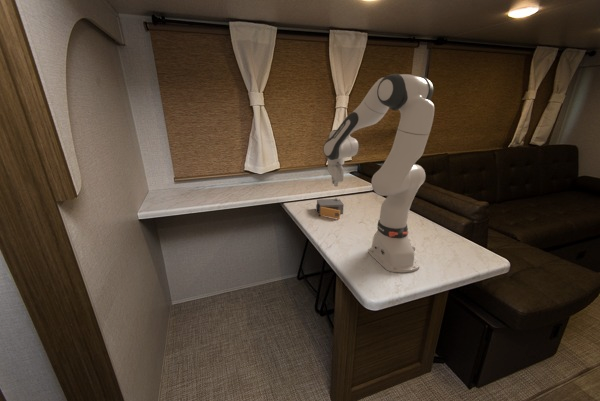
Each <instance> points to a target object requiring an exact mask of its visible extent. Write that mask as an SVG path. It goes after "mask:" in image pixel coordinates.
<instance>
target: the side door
mask: <svg viewBox="0 0 600 401" xmlns="http://www.w3.org/2000/svg"><path fill="white" fill-rule="evenodd" d="M318 216H320V217H321V216H324V217H328V218H332V219H337V220H340V218H341V214H340V210H335V209H330V208H325V207H319V212H318Z"/></svg>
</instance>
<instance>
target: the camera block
mask: <svg viewBox="0 0 600 401" xmlns="http://www.w3.org/2000/svg"><path fill="white" fill-rule="evenodd" d="M344 205H345V204H344V203H343V201H341V199H340V198H339V197H335V198H325V199H323V198H322V199H320V198H319V199H316V204H315V208H316V209H315V210H316V212H318V213H319V207H325V208H330V209H335V210H340V215H343V214H344Z"/></svg>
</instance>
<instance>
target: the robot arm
mask: <svg viewBox="0 0 600 401" xmlns="http://www.w3.org/2000/svg"><path fill="white" fill-rule="evenodd" d="M433 95H434V86H433V83H432V82H431V80H429V79H428V78H427V77H424V76H417V75H413V74H408V73H407V74H405V73H403V74H400V73H393V74H389V75H387V76H384V77H381V78H379V79H378V80H377V81H375V83H374V84H373V85H372V86H371V87H370V89H369V91H367V93H366V95H365V97H364V98H363V99H362V101H360V102H361V103H360V104H359V105H358V106H357V107H356V108H355V109H354V110H353V111H352V112H350V113H349V114H348V115H347V116H346V117H345V118H344V120H343V121H342V122H341V123H340V125H339V126H338V127H337V129H333V130H331V131H330V132H329V135H328V136H329V137H328V139H327V140H325V143H324V144H323V147H322V149H323V154H324V156H325V157H326V161H327V170H328V171H327V173H328V174H329V175H330V176H331V184H333V186H334V187H335V188H336V187H338V186H339V183H342V182H344V178H345V177H344V170H345V169H344V167H343V165H345V159H346V158H352V157H355V156H357V154H358V153H359V150H360V144H359V141H358V140H357V139H356V138H354V137H352V136H351V134H353V133H354V132H356V131H358V130H360V129H363V128H366V127H370V126H373V125H376V124H378V122H380V121H381V120H382V119H383V118H384V116H385V115H386V113H387V112H388V111H389V109H390V110H392V111H393V112H396V111H399V112H400V119H399V122H398V123H399V124H398V127H397V130H396V132H395V133H396V134H395V137H394V140H393V144H392V147H391V150H390V152H389V154H388V155H387V157H386V159H385V160H384V162H383V164H382V165H381V166H380V168H379V169H378V170H377V171H376V172H375V173H374V174H373V175H372V177H371V188H372V190H373V191H374V192H375V194H377V195H378V196H382V197H383V196H385V197H386V198H385V199H384V200H383V201H382V203H381V205H380V213H379V219H378V220H377V221H378V222H377V226H376V228H377V230H376V232H375V233H374V234H373V237H372V243H371V247H370V248H369V249H368V251H367V252H368V253H369V255H370V256H371V257H372V258H373V259H374V260H375V261H377V263H379V264H380V265H381V267H383V268H384V269H385V270H386V271H388V272H392V273H411V272H415V271H417V270H419V269H420V265H419V263H418V261H417V260H416V258H415V251H416V246H415V245H412V242H411V239H410V238H409V236H408V235H409V228H408V218H409V212H410V209H411V206H412V203H413V200H414V199H415V196H416V195H417V193H418V191H419V189H420V187H421V186H422V185H423V184H424V183H425V181H426V176H427V175H426V172H425V171H426V170H425V169H424V168H423V167H422V166H421V165H419V164H416V163H417V161H419V159H420V158H421V157H422V156H423V154H424V152H425V149H426V145H427V142H428V139H429V136H430V133H431V130H432V126H433V123H434V116H435V110H436V109H435V104H434V103H433V102H432V101H431V99H432V97H433Z"/></svg>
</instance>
